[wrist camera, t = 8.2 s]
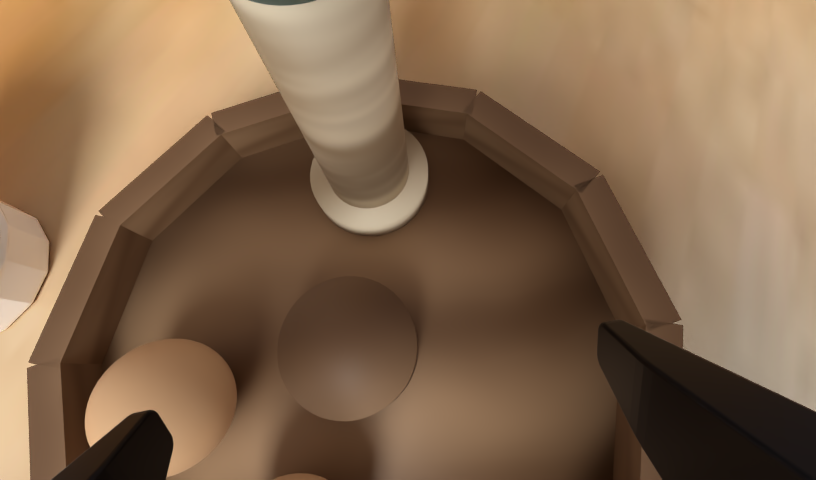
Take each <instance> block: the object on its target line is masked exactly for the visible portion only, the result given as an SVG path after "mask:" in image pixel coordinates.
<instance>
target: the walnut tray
mask: <svg viewBox="0 0 816 480" xmlns="http://www.w3.org/2000/svg"><path fill="white" fill-rule="evenodd" d="M399 89H400V97H401V106H402V114H403V122H404V129H406V130H407V131H409V132H410V133H411V134H412V135H413V136H414V137H415V138H416V139H417V140H418V141H419V143H420V145H421V146H422V148H423V150H424V152H425V155H426V158H427V163H428V192H427V196H426V199H425V202H424V204H423V206H422V208H421V209H420V211H419V212H418V213H417V215H416V216H415V217H414V218H413V219H412V220H411V221H410V222H409V223H407V224H406V225H405V226H403V227H402V228H400V229H398V230H396V231H394V232H391V233H388V234H384V235H380V236H360V235H356V234H352V233H349V232H347V231H345V230H343V229H341V228H339V227H338V226H337V225H335V224H334V223H333V222H332V221H331V220H330V219H329V218H328V217H327V215H326V214H325V213H324V211H323V210H322V208H321V207H320V205H319V204H318V202H317V200H316V198H315V197H314V194H313V191H312V188H311V183H310V171H311V165H312V161H313V159H314V154H313V153H312V151H311V149H310V147H309V145H308V143H307V141H306V140H305V138H304V136H303V134H302V132H301V130H300V129H299V127H298V125H297V123H296V121H295V119H294V118H293V116H292V114H291V112H290V110H289V108H288V107H287V105H286V103H285V101H284V99H283V97H282V96H281V94H280V92H277V93H274V94H271V95H267V96H264V97H261V98H258V99H255V100H251V101H248V102H245V103H242V104H239V105H235V106H232V107H229V108H226V109H223V110H219V111H216V112H213V113H211V114H212V119H213V120H212V119H211V118H210V117H209V116H206V117H205V118H204V119H203V120H201V121H200V122H199V123H198V124H197V125H196V126H195V127H193V128H192V129H191V130H190V131H189V132H188V133H187V134H185V135H184V136H183V137H182V138H181V139H180V140H179V141H178V142H176V143H175V144H174V145H173V146H172V147H171V148H170V149H168V150H167V151H166V152H165V153H164V154H163V155H162V156H160V157H159V158H158V159H157V160H156V161H155V162H154V163H153V164H151V165H150V166H149V167H148V168H147V169H146V170H145V171H143V172H142V173H141V174H140V175H139V176H138V177H137V178H135V179H134V180H133V181H132V182H131V183H130V184H129V185H128V186H126V187H125V188H124V189H123V190H122V191H121V192H120V193H118V194H117V195H116V196H115V197H114V198H113V199H112V200H110V201H109V202H108V203H107V204H106V205H105V206H104V207H103V208H101V209H100V210H99V212H100V213H101V214H102V215H103V216H104V217H103V216H97V215H95V217H94V219H93V222H92V224H91V226H90V228H89V230H88V232H87V235H86V237H85V239H84V241H83V243H82V246H81V248H80V250H79V252H78V254H77V257H76V259H75V261H74V263H73V265H72V268H71V270H70V272H69V274H68V276H67V279H66V281H65V283H64V285H63V287H62V289H61V292H60V294H59V296H58V298H57V300H56V303H55V305H54V307H53V309H52V311H51V314H50V316H49V318H48V320H47V322H46V325H45V327H44V329H43V331H42V333H41V335H40V338H39V340H38V342H37V344H36V346H35V349H34V351H33V353H32V355H31V357H30V360H29V363H33V364H37V365H35V366H32V367H29V368H27V384H28V416H29V447H30V479H31V480H51V479H52V478H53V477H55V476H56V475H57V474H58V473H60V472H61V471H62V470H63V469H64V468H66V467H67V466H68V465H69V464H70V463H72V462H73V461H74V460H75V459H77V458H78V457H79V456H80V455H81V454H83V453H84V452H85V451H86V450H87V449H89V448H90V446H89V443H88V440H87V437H86V432H85V413H86V408H87V404H88V401H89V398H90V395H91V393H92V391H93V389H94V387H95V385H96V384H97V382H98V381H99V379H100V378H101V377H102V375H103V374H104V373H105V371H106V370H107V369H108V368H109V367H110V366H111V365H112V364H113V363H114V362H116V361H117V360H118V359H119V358H121V357H122V356H124V355H125V354H126V353H128V352H130V351H131V350H133V349H135V348H137V347H139V346H142V345H144V344H147V343H150V342H153V341H158V340H163V339H187V340H192V341H196V342H199V343H202V344H204V345H206V346H208V347H210V348H211V349H213V350H214V351H216V352H217V353H218V354H219V355H220V356H221V357H222V358H223V359H224V360H225V361H226V363H227V364H228V366H229V367H230V369H231V371H232V373H233V376H234V379H235V383H236V389H237V403H236V410H235V414H234V417H233V420H232V423H231V425H230V427H229V429H228V431H227V433H226V434H225V436H224V437H223V439H222V440H221V442H220V443H219V444H218V446H217V447H216V448H215V449H214V450H213V451H212V452H211V453H210V454H209V455H208V456H207V457H206V458H204V459H203V460H202V461H200V462H199V463H198V464H196V465H194V466H193V467H191V468H189V469H187V470H186V471H183V472H181V473H179V474H176V475H173V476H169V477H166V480H273V479H275V478H278V477H280V476H284V475H287V474H295V473H307V474H313V475H317V476H320V477H323V478H325V479H327V480H662V478H661V477H660V475H659V474H658V472H657V470H656V469H655V467H654V466H653V464H652V463H651V461H650V459H649V458H648V456H647V455H646V453H645V451H644V450H643V448H642V447H641V445H640V443H639V442H638V440H637V438H636V437H635V435H634V433H633V431H632V429H631V427H630V425H629V423H628V421H627V419H626V417H625V415H624V413H623V411H622V409H621V407H620V405H619V403H618V401H617V399H616V397H615V395H614V393H613V391H612V389H611V387H610V385H609V383H608V381H607V379H606V377H605V375H604V373H603V371H602V369H601V367H600V365H599V362H598V358H597V341H598V327H599V325H600V324H601V323H603V322H607V321H612V320H623V321H626V322H628V323H630V324H632V325H634V326H636V327H638V328H641V329H643V330H645V331H647V332H649V333H651V334H653V335H655V336H657V337H659V338H662V339H664V340H666V341H668V342H670V343H672V344H674V345H676V346H678V347H681V348H683V325H678V324H672V323H673V322H676V321H679V320H681V318H680V316H679V314H678V312H677V311H676V309H675V307H674V305H673V303H672V301H671V300H670V298H669V296H668V294H667V292H666V290H665V288H664V287H663V285H662V283H661V281H660V279H659V277H658V276H657V274H656V272H655V270H654V268H653V266H652V264H651V263H650V261H649V259H648V257H647V255H646V253H645V252H644V250H643V248H642V246H641V244H640V242H639V240H638V239H637V237H636V235H635V233H634V231H633V229H632V227H631V226H630V224H629V222H628V220H627V218H626V216H625V215H624V213H623V211H622V209H621V207H620V205H619V203H618V202H617V200H616V198H615V196H614V194H613V192H612V191H611V189H610V187H609V185H608V183H607V181H606V179H605V178H604V176H603V175H602V176H599V177H596V175H597V174H598V173H599V172H600V171H598V170H597V169H595V168H594V167H592V166H591V165H589V164H588V163H586V162H585V161H583V160H582V159H580V158H579V157H577V156H576V155H575V154H573V153H572V152H570V151H569V150H567V149H566V148H564V147H563V146H561V145H560V144H558V143H557V142H555V141H554V140H552V139H551V138H549V137H548V136H546V135H545V134H543V133H542V132H540V131H539V130H537V129H536V128H534V127H533V126H531V125H530V124H528V123H527V122H525V121H524V120H522V119H521V118H520V117H518V116H517V115H515V114H514V113H512V112H511V111H509V110H508V109H506V108H505V107H503V106H502V105H500V104H499V103H497V102H496V101H494V100H493V99H491V98H490V97H488V96H487V95H485V94H484V93H482V92H480V93H479V94H478V95H477V96H476V91H477V90H473V89H466V88H458V87H451V86H443V85H436V84H428V83H420V82H413V81H405V80H399ZM595 177H596V178H595Z"/></svg>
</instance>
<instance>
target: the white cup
mask: <svg viewBox="0 0 816 480" xmlns="http://www.w3.org/2000/svg"><path fill="white" fill-rule="evenodd" d="M48 260H49V241H48V239H47V237H46V235H45V233H44V231H43V229H42V227H41V226H40V224H39V222H38V220H37V219H36V218H35V217H33V216H31V215H29V214H27V213H25V212H23V211H21V210H19V209H17V208H15V207H14V206H12V205H9V204H7V203H5V202H3V201H0V332H2V331H4V330H6V329H7V328H8V327H9V326H10V325H11V324H12V323H13V322H14V321H15V320H16V319H17V318H18V317H19V316H20V315H21V314H22V313H23V312H24V311H25V310H26V309H27V308H28V307H29V306H30V305H31V304H32V303H33V301H34V299H35V297H36V295H37V293H38V291H39V289H40V287H41V285H42V283H43V281H44V279H45V277H46V275H47V273H48Z"/></svg>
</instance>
